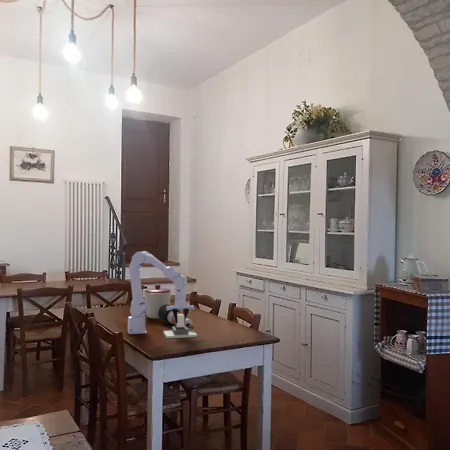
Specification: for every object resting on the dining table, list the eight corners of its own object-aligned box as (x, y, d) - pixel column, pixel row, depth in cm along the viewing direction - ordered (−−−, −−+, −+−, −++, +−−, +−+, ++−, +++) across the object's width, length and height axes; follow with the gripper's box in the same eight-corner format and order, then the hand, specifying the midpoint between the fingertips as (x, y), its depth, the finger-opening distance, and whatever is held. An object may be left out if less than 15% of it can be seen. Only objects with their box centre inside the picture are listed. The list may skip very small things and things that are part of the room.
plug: (177, 327, 250) (177, 315, 250) (176, 325, 255) (176, 314, 255) (184, 326, 251) (184, 315, 251) (182, 324, 256) (182, 313, 256)
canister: (174, 315, 308) (174, 282, 308) (168, 320, 290) (168, 286, 290) (147, 314, 310) (147, 282, 310) (139, 319, 292) (139, 285, 292)
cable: (188, 340, 256) (181, 325, 253) (161, 323, 285) (155, 309, 281) (203, 330, 261) (196, 315, 258) (175, 314, 289) (169, 301, 286)
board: (166, 338, 246) (166, 331, 246) (163, 333, 257) (163, 326, 257) (196, 336, 250) (197, 329, 250) (192, 331, 261) (192, 325, 261)
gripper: (167, 299, 248) (167, 325, 248) (195, 298, 251) (195, 324, 251) (166, 297, 254) (165, 322, 254) (192, 296, 258) (192, 321, 258)
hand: (180, 323), depth 253 cm, fingers closed on plug, 3 cm apart
